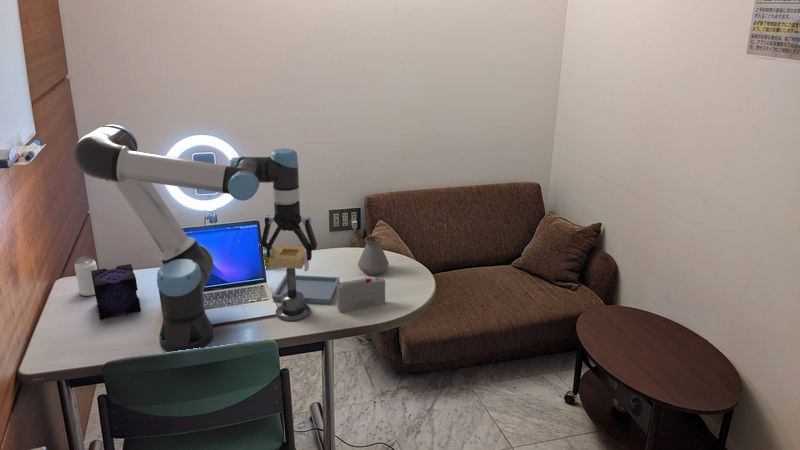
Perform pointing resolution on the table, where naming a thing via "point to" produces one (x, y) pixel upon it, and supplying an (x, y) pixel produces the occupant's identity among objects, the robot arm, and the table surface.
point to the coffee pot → (373, 255)
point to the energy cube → (115, 291)
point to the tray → (310, 288)
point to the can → (85, 275)
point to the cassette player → (360, 294)
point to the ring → (287, 257)
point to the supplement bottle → (266, 258)
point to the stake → (292, 301)
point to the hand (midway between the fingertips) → (290, 268)
